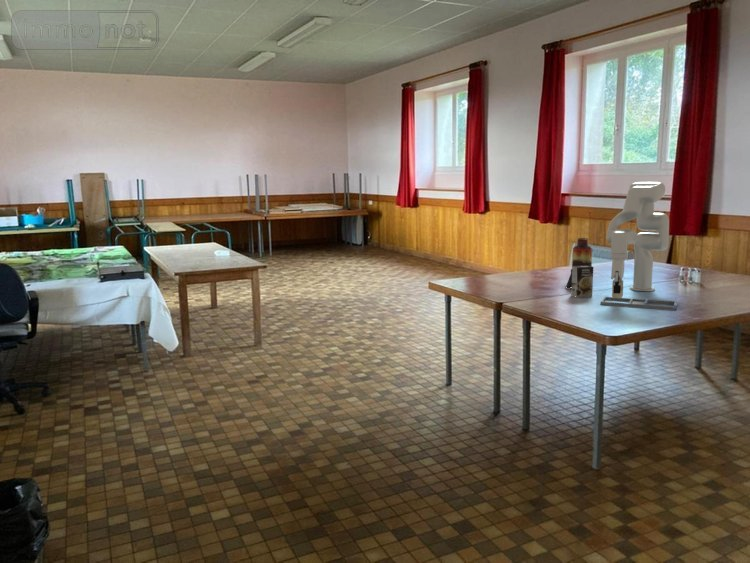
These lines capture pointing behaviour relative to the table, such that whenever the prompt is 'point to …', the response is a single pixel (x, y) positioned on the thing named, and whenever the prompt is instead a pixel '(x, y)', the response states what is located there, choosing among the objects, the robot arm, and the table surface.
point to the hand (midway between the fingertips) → (617, 291)
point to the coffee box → (582, 281)
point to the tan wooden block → (620, 290)
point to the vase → (582, 253)
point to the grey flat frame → (639, 303)
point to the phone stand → (569, 281)
